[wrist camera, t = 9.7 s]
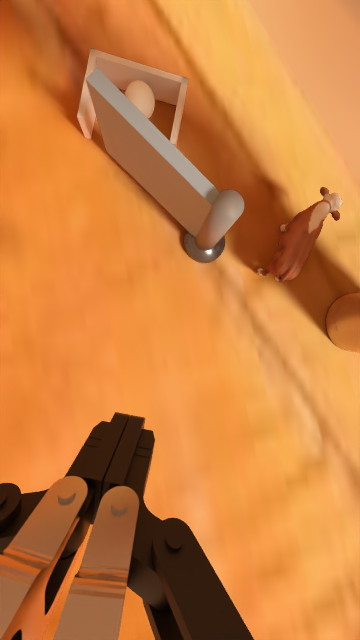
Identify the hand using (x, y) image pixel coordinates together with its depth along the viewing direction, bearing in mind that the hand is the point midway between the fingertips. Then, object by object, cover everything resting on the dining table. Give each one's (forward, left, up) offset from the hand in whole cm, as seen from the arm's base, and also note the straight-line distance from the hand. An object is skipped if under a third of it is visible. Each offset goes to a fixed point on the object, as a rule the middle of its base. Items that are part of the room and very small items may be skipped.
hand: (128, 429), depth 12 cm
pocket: (+8, -32, -23) cm, 40 cm away
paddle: (+2, -22, -22) cm, 31 cm away
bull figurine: (-17, -20, -23) cm, 35 cm away
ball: (+7, -34, -23) cm, 41 cm away
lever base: (-5, -18, -23) cm, 29 cm away
